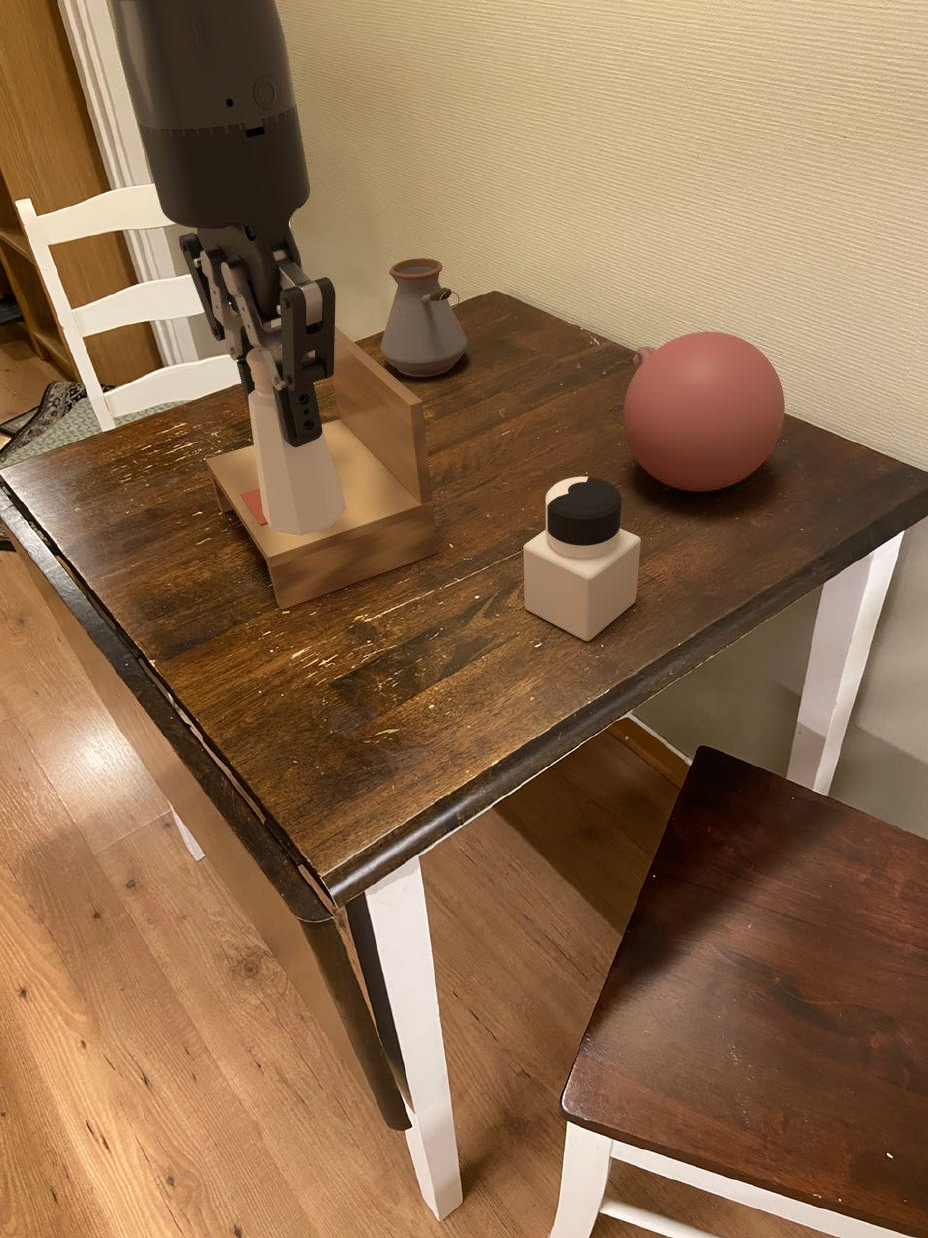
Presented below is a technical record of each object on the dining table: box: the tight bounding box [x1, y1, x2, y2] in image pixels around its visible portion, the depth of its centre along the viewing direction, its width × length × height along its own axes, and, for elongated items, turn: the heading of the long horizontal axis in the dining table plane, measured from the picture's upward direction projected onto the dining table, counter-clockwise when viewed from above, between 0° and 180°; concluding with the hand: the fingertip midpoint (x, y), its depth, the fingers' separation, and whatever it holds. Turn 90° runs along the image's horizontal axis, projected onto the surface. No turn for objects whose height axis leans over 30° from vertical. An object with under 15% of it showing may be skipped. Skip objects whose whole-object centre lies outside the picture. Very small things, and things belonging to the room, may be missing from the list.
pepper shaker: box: [246, 343, 346, 536], centre depth 53 cm, size 5×5×11 cm
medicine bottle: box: [523, 476, 642, 642], centre depth 74 cm, size 7×7×12 cm
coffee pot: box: [379, 257, 468, 378], centre depth 109 cm, size 21×12×15 cm, turn 17°
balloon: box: [622, 331, 786, 493], centre depth 89 cm, size 15×20×15 cm
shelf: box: [205, 326, 439, 611], centre depth 84 cm, size 16×20×16 cm
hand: (286, 426), depth 53 cm, fingers closed on pepper shaker, 4 cm apart
